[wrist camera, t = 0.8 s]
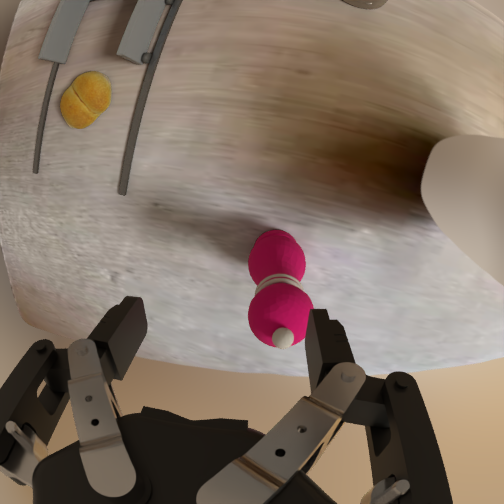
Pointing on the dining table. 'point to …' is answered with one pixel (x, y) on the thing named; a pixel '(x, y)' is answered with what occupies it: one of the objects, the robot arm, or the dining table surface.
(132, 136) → the track
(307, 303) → the pepper mill
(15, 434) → the robot arm
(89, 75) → the bread roll
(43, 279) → the dining table surface
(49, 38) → the frame
